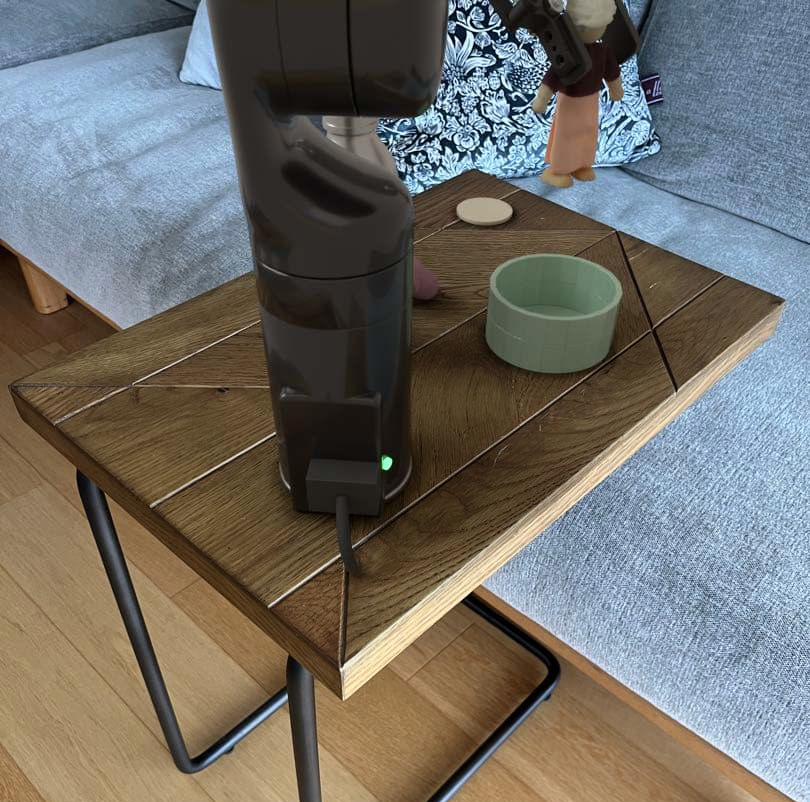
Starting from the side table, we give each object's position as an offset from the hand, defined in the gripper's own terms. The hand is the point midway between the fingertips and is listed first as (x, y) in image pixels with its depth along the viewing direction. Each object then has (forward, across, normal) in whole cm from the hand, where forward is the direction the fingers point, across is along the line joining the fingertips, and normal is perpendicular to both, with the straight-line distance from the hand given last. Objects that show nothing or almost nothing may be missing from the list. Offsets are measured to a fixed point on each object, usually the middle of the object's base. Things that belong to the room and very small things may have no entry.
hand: (605, 66), depth 55 cm
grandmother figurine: (+5, 0, +7) cm, 8 cm away
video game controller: (+4, -6, +27) cm, 27 cm away
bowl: (+14, -1, +16) cm, 21 cm away
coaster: (+1, +15, +29) cm, 33 cm away
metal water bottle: (+7, -14, +23) cm, 28 cm away
